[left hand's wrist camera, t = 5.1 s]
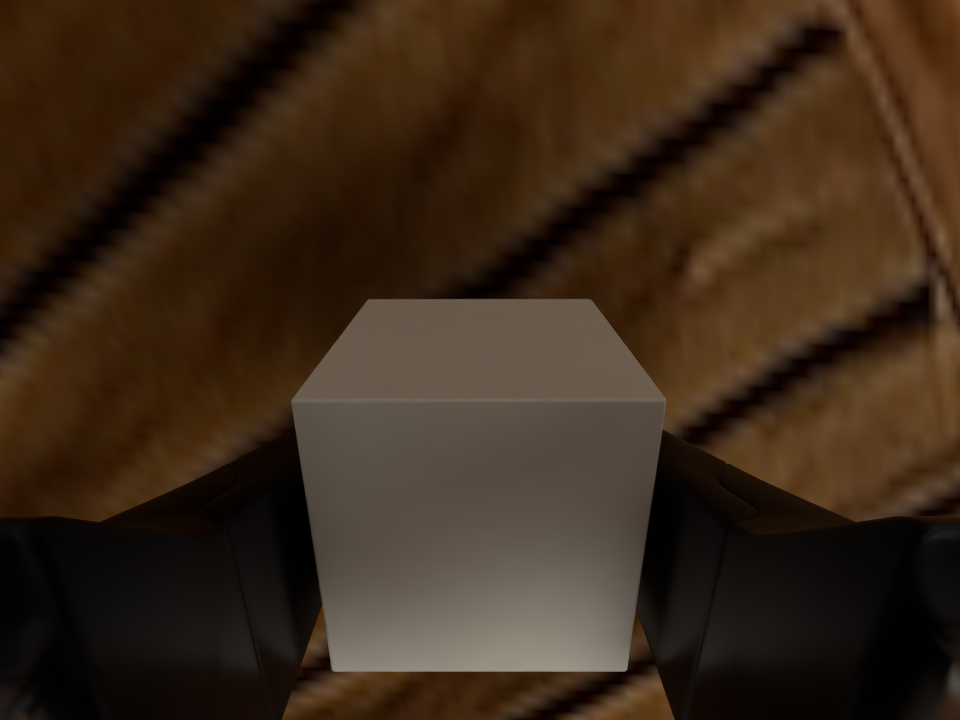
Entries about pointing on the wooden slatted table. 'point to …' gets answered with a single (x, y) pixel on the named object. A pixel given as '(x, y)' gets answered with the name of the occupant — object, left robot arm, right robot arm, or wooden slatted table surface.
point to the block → (479, 486)
